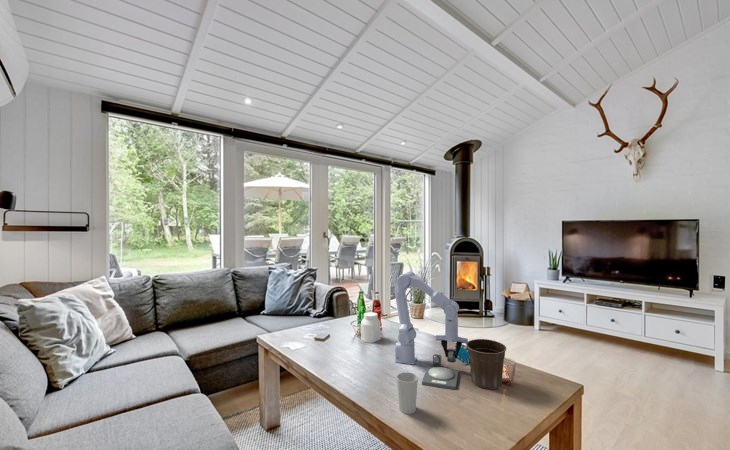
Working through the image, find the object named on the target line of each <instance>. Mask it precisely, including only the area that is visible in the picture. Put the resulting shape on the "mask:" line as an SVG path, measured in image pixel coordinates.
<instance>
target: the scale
mask: <svg viewBox="0 0 730 450" xmlns="http://www.w3.org/2000/svg"><path fill="white" fill-rule="evenodd" d="M458 378H459V370H458V369H452V368H448V367H443V366H442V367H433V366H429V365H427V367H426V370H425V372H424V376H423V377H422V380H421V385H422V386H430V387H435V388H441V389H442V388H443V389H447V390H449V389H450V390H457V383H458Z"/></svg>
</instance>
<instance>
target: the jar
mask: <svg viewBox="0 0 730 450" xmlns="http://www.w3.org/2000/svg"><path fill="white" fill-rule="evenodd" d="M378 316H379V315H378V313H377V312H371V311H369V312H365V313H363V317H362V318H363V319H362V320H361V322H360V326H361V327H360V330H361V331H360V333H361V335H360V336H361V337H360V339H361V341H362V342H364V343H367V344H369V343H370V344H373V343H375V342H377V341H380V340H381V338H382V337H381V320H380V319H379V318H378Z"/></svg>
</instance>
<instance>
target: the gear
mask: <svg viewBox="0 0 730 450" xmlns="http://www.w3.org/2000/svg"><path fill="white" fill-rule="evenodd" d="M465 346H466V345H464V344H462V346H461V348H460V350H459V353H458V358H457V359H456V360H458V361H461V363H462V364H464V363H465V364H466V365H467V364H470V358H469V354H468V348H467V347H466V348H465ZM454 347H455V348H454V349H455V350H456V345H455V346H454Z"/></svg>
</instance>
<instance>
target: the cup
mask: <svg viewBox="0 0 730 450" xmlns="http://www.w3.org/2000/svg"><path fill="white" fill-rule="evenodd" d="M418 381H419V377H418V375H417V374H415V373H413V372H410V371H404V372H403V371H402V372H399V373H397V375H396V389H397V397H398V398H397V399H398V400H397V401H398V410H399V412H400V413H403V414H406V415H410V414H414V413H415V412H416V410H417V395H418V394H417V393H418Z"/></svg>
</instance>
